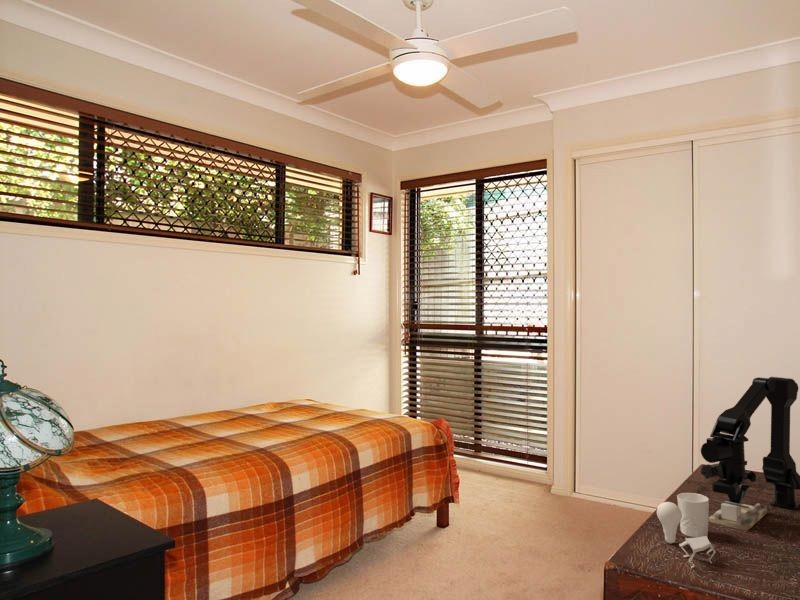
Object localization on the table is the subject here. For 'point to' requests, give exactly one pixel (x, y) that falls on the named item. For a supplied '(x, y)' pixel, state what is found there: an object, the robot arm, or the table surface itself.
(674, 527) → the lightbulb
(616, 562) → the table surface
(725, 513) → the tuning slider
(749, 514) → the board
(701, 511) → the white cup
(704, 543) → the origami figure
